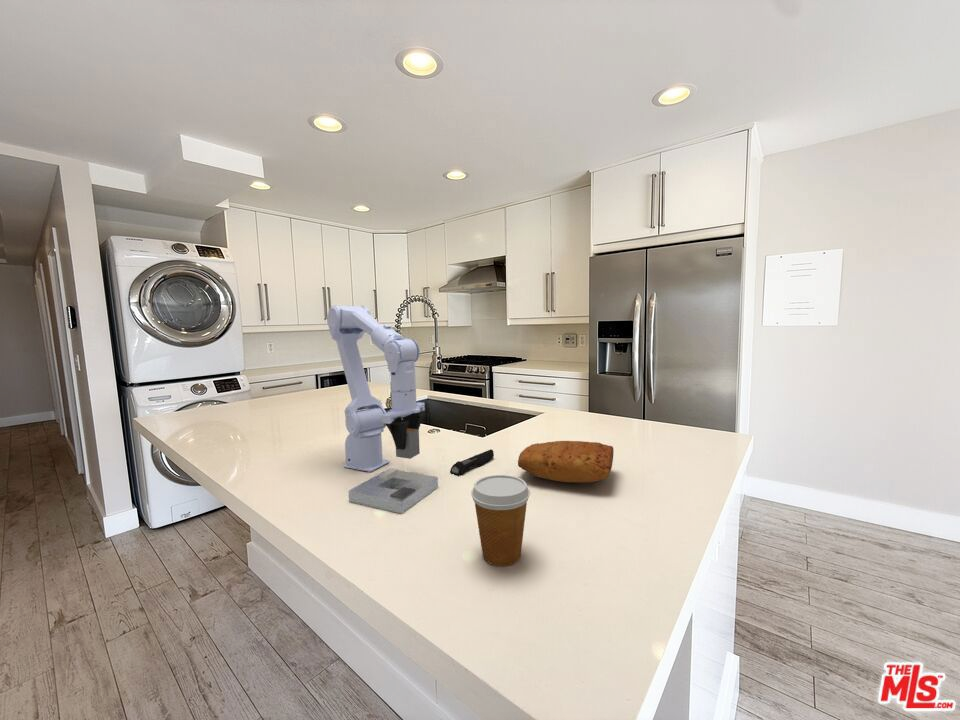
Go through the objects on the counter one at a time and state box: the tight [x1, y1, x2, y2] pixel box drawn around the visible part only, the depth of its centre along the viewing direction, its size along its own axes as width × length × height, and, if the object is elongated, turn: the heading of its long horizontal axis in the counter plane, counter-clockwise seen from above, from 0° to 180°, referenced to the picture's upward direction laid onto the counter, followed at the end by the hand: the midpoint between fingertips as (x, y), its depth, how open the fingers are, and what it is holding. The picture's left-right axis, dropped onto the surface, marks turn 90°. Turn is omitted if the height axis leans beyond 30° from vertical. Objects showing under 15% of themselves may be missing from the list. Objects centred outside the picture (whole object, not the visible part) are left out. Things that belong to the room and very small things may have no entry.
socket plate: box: [348, 467, 439, 515], centre depth 90 cm, size 14×14×3 cm
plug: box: [395, 428, 420, 460], centre depth 96 cm, size 4×4×6 cm
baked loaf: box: [517, 440, 614, 483], centre depth 97 cm, size 22×17×8 cm
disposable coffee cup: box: [470, 474, 531, 567], centre depth 65 cm, size 10×10×12 cm
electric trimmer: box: [449, 448, 495, 477], centre depth 106 cm, size 4×16×3 cm, turn 140°
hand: (406, 446), depth 96 cm, fingers closed on plug, 4 cm apart
